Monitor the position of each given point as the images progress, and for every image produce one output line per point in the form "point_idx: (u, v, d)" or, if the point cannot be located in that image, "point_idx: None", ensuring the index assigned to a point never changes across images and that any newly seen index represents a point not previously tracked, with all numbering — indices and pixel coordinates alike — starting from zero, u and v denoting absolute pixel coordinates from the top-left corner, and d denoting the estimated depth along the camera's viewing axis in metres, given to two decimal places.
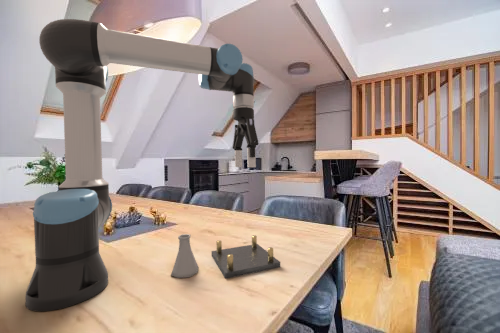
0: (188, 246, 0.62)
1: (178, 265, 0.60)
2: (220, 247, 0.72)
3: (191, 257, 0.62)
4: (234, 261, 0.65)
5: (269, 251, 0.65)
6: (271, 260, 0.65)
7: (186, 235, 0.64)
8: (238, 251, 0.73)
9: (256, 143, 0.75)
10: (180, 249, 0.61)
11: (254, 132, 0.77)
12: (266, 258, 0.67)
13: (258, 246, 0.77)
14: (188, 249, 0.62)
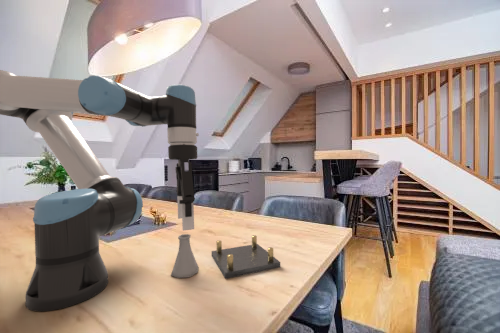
0: (188, 246, 0.62)
1: (178, 265, 0.60)
2: (220, 247, 0.72)
3: (191, 257, 0.62)
4: (234, 261, 0.65)
5: (269, 251, 0.65)
6: (271, 260, 0.65)
7: (186, 235, 0.64)
8: (238, 251, 0.73)
9: (191, 199, 0.53)
10: (180, 249, 0.61)
11: (190, 182, 0.55)
12: (266, 258, 0.67)
13: (258, 246, 0.77)
14: (188, 249, 0.62)
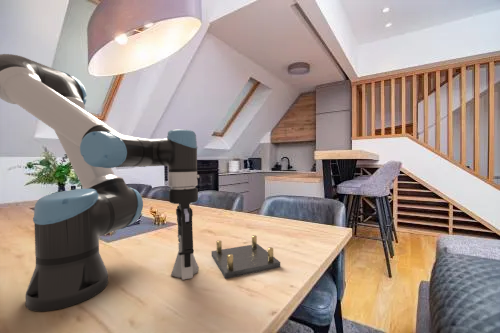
0: None
1: (178, 265, 0.60)
2: (220, 247, 0.72)
3: None
4: (234, 261, 0.65)
5: (269, 251, 0.65)
6: (271, 260, 0.65)
7: None
8: (238, 251, 0.73)
9: (190, 252, 0.56)
10: (180, 249, 0.61)
11: (190, 235, 0.56)
12: (266, 258, 0.67)
13: (258, 246, 0.77)
14: None
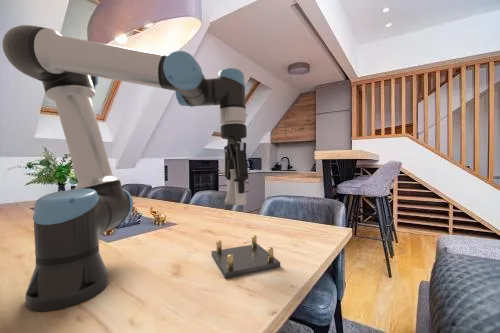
0: None
1: (231, 194, 0.65)
2: (220, 247, 0.72)
3: None
4: (234, 261, 0.65)
5: (269, 251, 0.65)
6: (271, 260, 0.65)
7: None
8: (238, 251, 0.73)
9: (245, 177, 0.61)
10: (232, 180, 0.66)
11: (244, 162, 0.61)
12: (266, 258, 0.67)
13: (258, 246, 0.77)
14: None
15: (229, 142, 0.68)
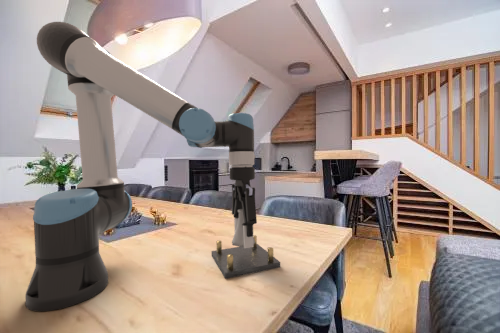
0: None
1: (239, 236, 0.67)
2: (220, 247, 0.72)
3: None
4: (234, 261, 0.65)
5: (269, 251, 0.65)
6: (271, 260, 0.65)
7: None
8: (238, 251, 0.73)
9: (254, 222, 0.62)
10: (240, 222, 0.68)
11: (253, 207, 0.63)
12: (266, 258, 0.67)
13: (258, 246, 0.77)
14: None
15: (237, 183, 0.69)
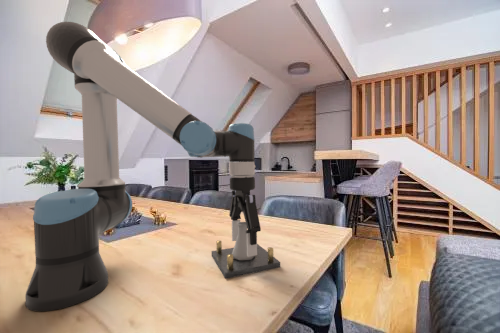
0: None
1: (239, 249, 0.67)
2: (220, 247, 0.72)
3: None
4: (234, 261, 0.65)
5: (269, 251, 0.65)
6: (271, 260, 0.65)
7: (243, 222, 0.70)
8: None
9: (258, 229, 0.60)
10: (240, 235, 0.68)
11: (255, 213, 0.61)
12: (266, 258, 0.67)
13: (258, 246, 0.77)
14: None
15: (238, 195, 0.69)
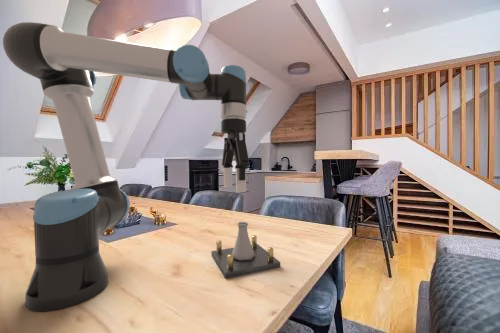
0: (246, 232, 0.68)
1: (239, 249, 0.67)
2: (220, 247, 0.72)
3: (249, 242, 0.68)
4: (234, 261, 0.65)
5: (269, 251, 0.65)
6: (271, 260, 0.65)
7: (243, 222, 0.70)
8: None
9: (246, 164, 0.61)
10: (240, 235, 0.68)
11: (244, 150, 0.63)
12: (266, 258, 0.67)
13: (258, 246, 0.77)
14: (247, 235, 0.68)
15: (229, 138, 0.71)
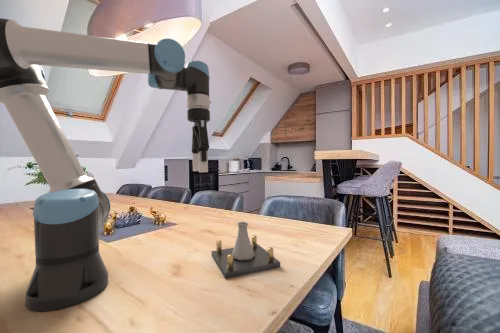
0: (246, 232, 0.68)
1: (239, 249, 0.67)
2: (220, 247, 0.72)
3: (249, 242, 0.68)
4: (234, 261, 0.65)
5: (269, 251, 0.65)
6: (271, 260, 0.65)
7: (243, 222, 0.70)
8: None
9: (206, 146, 0.70)
10: (240, 235, 0.68)
11: (205, 135, 0.71)
12: (266, 258, 0.67)
13: (258, 246, 0.77)
14: (247, 235, 0.68)
15: None
